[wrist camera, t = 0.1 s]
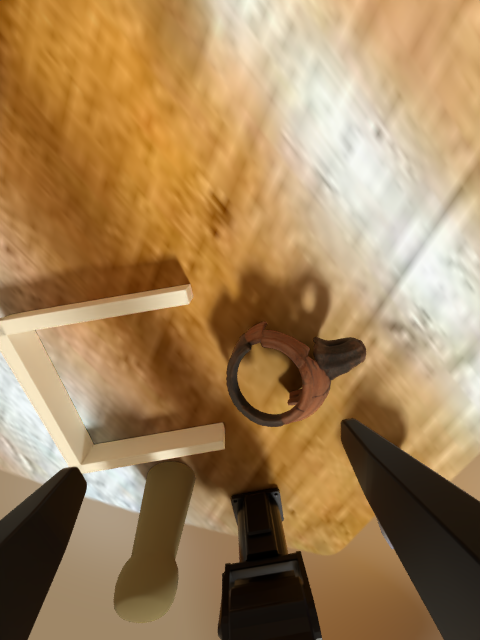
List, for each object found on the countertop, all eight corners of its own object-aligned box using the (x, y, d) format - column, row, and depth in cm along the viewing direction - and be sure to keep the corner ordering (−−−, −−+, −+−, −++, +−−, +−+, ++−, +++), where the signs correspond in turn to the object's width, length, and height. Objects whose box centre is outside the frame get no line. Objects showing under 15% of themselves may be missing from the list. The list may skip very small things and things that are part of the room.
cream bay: (224, 430, 26) (224, 449, 24) (87, 453, 26) (74, 475, 24) (190, 283, 20) (185, 289, 18) (12, 313, 20) (-16, 323, 18)
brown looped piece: (273, 410, 26) (247, 453, 19) (236, 338, 27) (198, 352, 20) (379, 370, 22) (401, 408, 14) (329, 286, 23) (325, 280, 15)
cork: (137, 482, 28) (86, 623, 18) (164, 453, 27) (126, 588, 16) (177, 501, 30) (151, 640, 19) (205, 474, 28) (193, 609, 18)
